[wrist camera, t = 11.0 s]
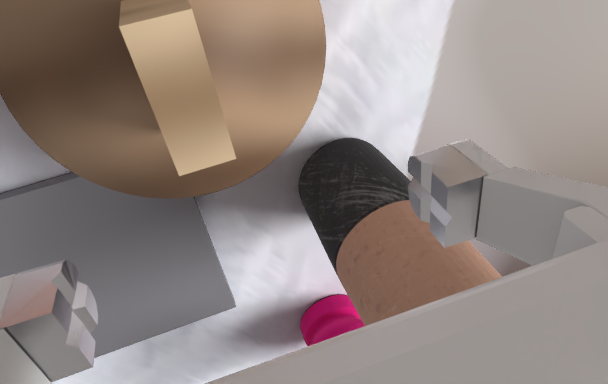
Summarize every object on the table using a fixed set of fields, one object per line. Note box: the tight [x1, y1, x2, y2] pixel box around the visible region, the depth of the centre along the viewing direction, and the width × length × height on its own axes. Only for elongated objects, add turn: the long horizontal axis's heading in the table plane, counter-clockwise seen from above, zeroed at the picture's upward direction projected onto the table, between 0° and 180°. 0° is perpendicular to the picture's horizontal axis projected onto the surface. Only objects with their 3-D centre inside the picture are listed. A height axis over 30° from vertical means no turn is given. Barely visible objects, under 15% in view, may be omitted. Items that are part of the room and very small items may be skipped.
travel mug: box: [299, 138, 502, 326], centre depth 27 cm, size 8×8×20 cm
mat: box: [0, 173, 236, 358], centre depth 32 cm, size 16×16×1 cm
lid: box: [0, 0, 326, 199], centre depth 18 cm, size 14×14×5 cm
